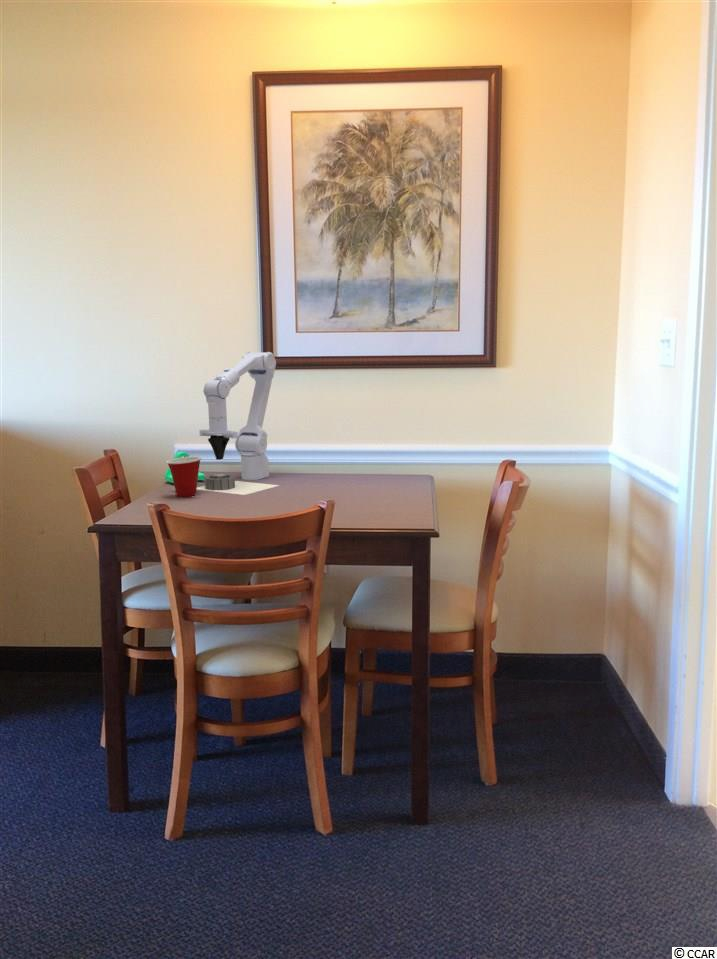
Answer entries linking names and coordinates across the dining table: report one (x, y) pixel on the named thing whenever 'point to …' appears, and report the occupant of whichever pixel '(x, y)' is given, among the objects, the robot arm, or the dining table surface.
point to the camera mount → (168, 474)
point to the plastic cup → (185, 475)
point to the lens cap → (219, 476)
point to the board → (232, 486)
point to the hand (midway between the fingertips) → (219, 459)
